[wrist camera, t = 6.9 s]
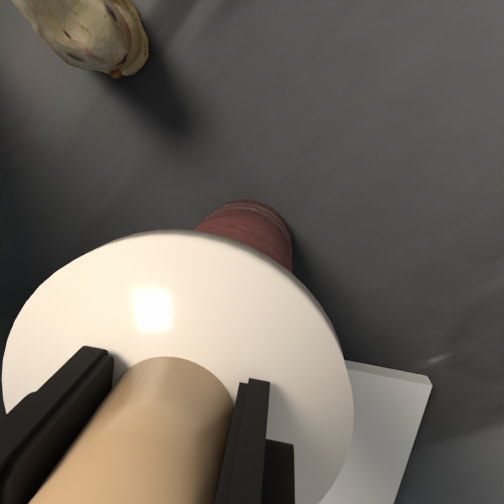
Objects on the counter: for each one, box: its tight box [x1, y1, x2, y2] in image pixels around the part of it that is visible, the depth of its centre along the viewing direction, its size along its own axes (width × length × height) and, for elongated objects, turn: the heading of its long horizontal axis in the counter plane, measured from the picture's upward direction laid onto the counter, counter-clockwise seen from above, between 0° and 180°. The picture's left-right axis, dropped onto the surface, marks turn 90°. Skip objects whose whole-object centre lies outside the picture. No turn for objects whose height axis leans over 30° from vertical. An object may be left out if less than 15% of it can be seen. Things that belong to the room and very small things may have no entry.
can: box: [192, 200, 293, 274], centre depth 20 cm, size 6×6×14 cm
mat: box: [318, 360, 432, 504], centre depth 30 cm, size 18×12×1 cm, turn 81°
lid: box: [2, 229, 354, 504], centre depth 8 cm, size 9×9×6 cm
